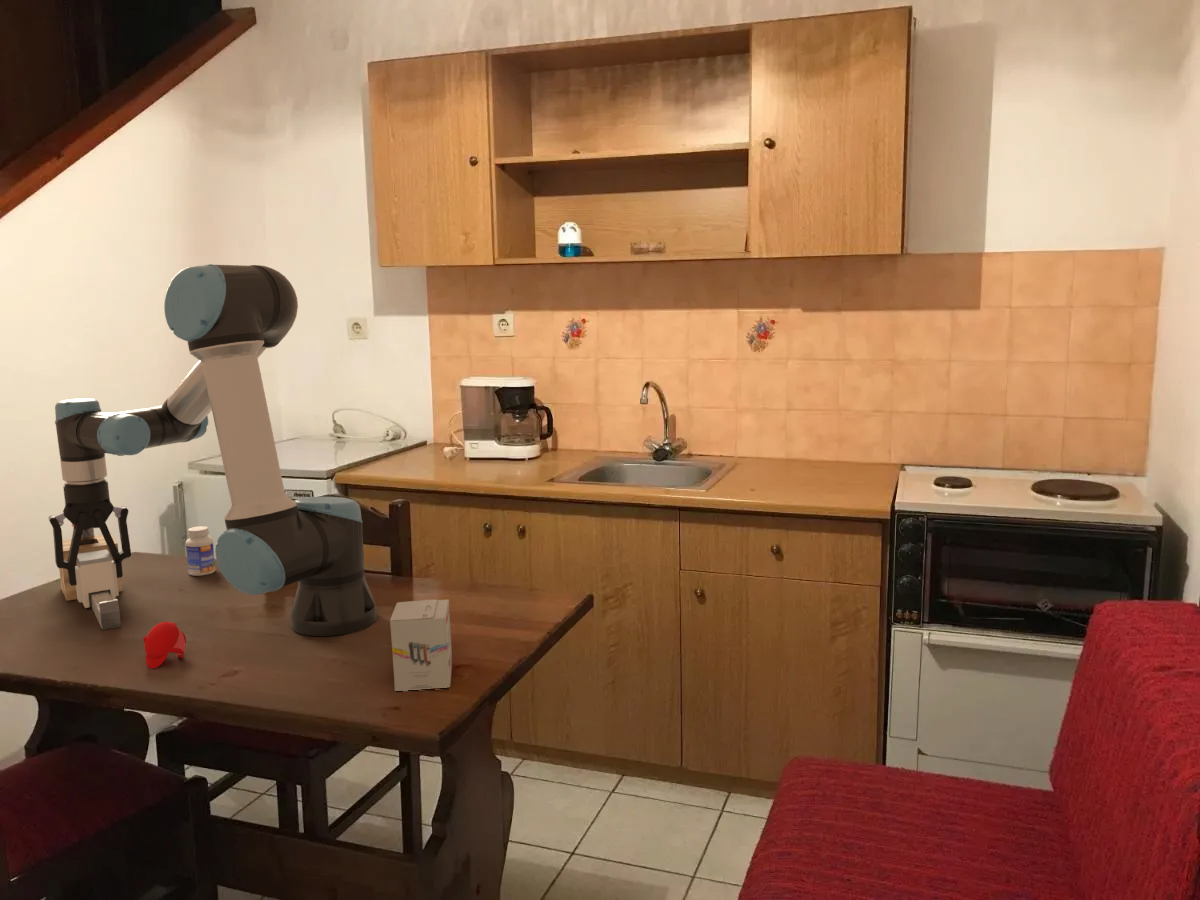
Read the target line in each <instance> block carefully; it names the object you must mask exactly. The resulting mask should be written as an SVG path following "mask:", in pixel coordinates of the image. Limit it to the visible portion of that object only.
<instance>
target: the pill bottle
mask: <svg viewBox="0 0 1200 900" xmlns="http://www.w3.org/2000/svg"><path fill="white" fill-rule="evenodd" d="M187 535H188V537H189V538H187V539H186V541H185V551H186V553H185V554H186V562H187V573H188V574H189V575H190V576H195V577H198V576H199V577H200V576H207V575H211V574H214V572H215V571H216V560H215V551H214V549H215V548H214V539H213V537H212V536H210V531H209V527H208V526H206V525H205V526H201V525H199V526H193V527H190V528H188V529H187Z"/></svg>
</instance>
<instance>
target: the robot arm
mask: <svg viewBox="0 0 1200 900" xmlns="http://www.w3.org/2000/svg"><path fill="white" fill-rule="evenodd" d="M298 302H299V301H298V297H297V294H296V290H295V288H294V287H293V285H292V283H291V282H290V281H289V280H288V278H287V277H286V276H285V275H284V274H283V273H281V272H280V271H279V270H276V269H274V268H272V267H269V266H266V265H260V264H258V265H257V264H251V265H244V264H243V265H239V264H238V265H237V264H236V265H233V264H232V265H231V264H212V263H211V264H210V263H209V264H203V265H193V266H187V267H185V268H182V269H181V270H179V272H177V273H176V274H175V275H174V276H173V278H172V279H171V280H170V283H169V286H167V289H166V292H165V295H164V304H163V305H164V307H163V309H164V317H165V320H166V324H167V326H168V328H169V330H170V331H173V334H174V335H175V337H177V338H178V339H181V340H182V341H185V342H187V347H188V350H189V351H188V352H189V354H190V355H192V356H193V357H194V358H196V359H197V360H198V361H197V362H196V364H194V366H193V367H192V368H191V369H190V371H188V373H187V374H186V376H184V378H183V379H182V381H181V382H179V384H178V385H177V386H176V387H175V389H174V390H173V391H172V393H171V394H170V395H169V396H168V398H166V400H164V402H163V403H162V404H161V405H158V406H153V407H152V406H151V407H145V408H139V409H132V410H131V409H130V410H123V411H116V412H105V411H102V408H101V406H100V402H99V401H98V400H97V399H96V398H92V397H91V398H88V397H87V398H86V397H85V398H81V397H79V398H71V399H70V398H69V399H63V400H60V401H57V402H56V404H55V407H54V410H55V413H54V414H55V420H54V421H55V422H54V424H55V430H56V436H57V443H58V445H57V446H58V452H59V456H60V457H59V458H60V467H61V469H60V470H61V476H62V477H61V478H62V481H64V484H63V485H62V487H63V495H64V504H65V505H64V509H63V510H62V512H61V513H58V514H55V515H50V516H48V521H49V523H50V525H51V527H52V531H53V534H52V535H53V544H54V547H53V548H54V559H55V564H56V567H57V568H58V569H59V568H65V569H67V570H68V579H69V583H70V585H71V586H73V585H76V591H77V599H76V600H77V601H78V603H82V602H83V593H82V584H81V575H80V569H79V567H78V566H76V561H77V556H78V551H79V546H80V542H81V537H82V534H83V530H86V529H89V528H94V529H99V530H100V532H101V535H103V537H104V539H105V541H106V544H107V546H108V548H109V550H110V552H111V555H112V557H113V560H112V566H113V576H114V585H115V594H116V597H118V596H120V595H119V594H120V593H119V592H118V583H117V578H120V577H121V578H122V577H123V575H124V574H123V573H124V572H123V560H126V559H127V558H130V557H132V550H131V544H130V535H129V528H128V522H127V519H128V515H129V509H128V508H127V506H124V505H122V506H118V505H117V506H116V505H113V503H112V501H111V500H110V498H111V497H110V490H109V482H108V480H107V479H106V477H107V476H108V472H107V471H108V470H107V462H106V461H107V460H106V454H108V455H112V456H113V455H114V456H119V457H123V456H136V455H138V454H140V453H141V452H143V451H144V450H145V449H151V448H155V447H160V446H166V445H172V444H179V443H188V442H190V441H192V440H196V439H199V438H201V437H203V436H204V435H205V434H206V432H207V431H208V429H207V427H208V426H209V417H208V415H209V414H210V413H211V412H212V416H213V422H214V426H215V431H216V437H217V441H218V447H219V451H220V456H221V460H222V461H221V462H222V465H223V471H224V475H225V481H226V485H227V489H228V493H229V494H228V495H229V499H230V503H231V505H230V509H229V510H228V511H227V513H226V514H225V516H224V517H223V518H224V523H225V527H226V529H225V530H224V531H223V533H221V534H220V536H219V537H218V538H217V541H216V542H217V544H216V545H215V548H214V549H215V551H214V554H215V558H216V560H215V561H216V563H217V566H218V568H219V571H220V572H221V574H222V576H223V577H224V579H225V580H226V581H227V582H228V583H229V585H232V587H233V588H235V590H237V591H239V592H241V593H242V594H246V595H251V596H259V595H264V594H265V593H269V592H277V591H279V590H281V589H282V588H284V587H286V586H288V585H292V584H294V583H298V584H297V588H296V592H295V597H294V600H293V603H292V607H291V611H290V625H291V628H292V630H293V631H294V632H297V633H299V634H302V635H305V636H314V637H329V636H331V637H332V636H339V635H341V636H342V635H345V634H346V635H347V634H350V633H354V632H358V631H361V630H364V629H366V628H368V627H370V626H371V625H373V624H374V623H375V622H376V621H377V620H378V619H377V618H378V616H377V615H378V614H377V613H378V612H377V611H378V610H377V604H376V602H375V599H374V597H373V594H372V592H371V590H370V587H369V585H368V582H367V580H366V576H365V557H364V537H363V535H364V534H363V533H364V532H363V531H364V529H363V524H364V523H363V522H364V521H363V520H362V514H361V513H362V512H361V506H360V504H359V503H358V502H357V501H356V500H354V499H351V498H347V497H337V496H305V497H298V498H295V499H294V500H293V499H291V498H290V497H289V496H287V495H286V493H285V487H284V483H283V477H282V472H281V468H280V463H279V458H278V454H277V448H276V443H275V442H276V441H275V438H274V433H273V428H272V424H271V423H272V422H271V418H270V413H269V409H268V408H269V407H268V404H267V403H268V402H267V399H266V393H265V389H264V383H263V378H262V373H261V369H260V364H259V357H261V355H262V354H263V353H264V351H266V350H267V349H272V348H275V347H277V346H278V345H279V344H280V342H281V341H282V340H283V339H284V338H285V337H286V336H287V335H288V333H289V332H290V330H292V329H291V328H293V326H294V323H295V321H296V319H297V315H298V308H299V304H298ZM112 513H114V516H115V518H117V522H118V530H119V531H118V532H119V537H120V538H119V539H120V545H121V551H119V549H118V550H117V548H116V545H115V543H114V541H113V539H112V536H113V535H112V533H111V532H110V530H109V528H108V525H107V524H106V522H107V520H109V517H110V516H111V514H112ZM65 519H67V521H69V522H70V523H71V525H72V524H73V525H74V527H72V528H73V530H72V535H71V539H72V540H71V545H70V550H69V555H68V560H67V561H65V560H64V556H63V542H62V540H63V531H62V526H63V525H64V522H65V521H64V520H65ZM111 535H112V536H111Z"/></svg>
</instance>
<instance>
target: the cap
mask: <svg viewBox="0 0 1200 900" xmlns="http://www.w3.org/2000/svg"><path fill="white" fill-rule="evenodd" d="M142 641H143V643H144V652H145V663H146V666H147V668H149V669H150V668H151V669H152V668H154V669H157V668H159V667H161V666H162V665H163V663H164V662H165V661H166V659H167V657H168V655H169V654H172V653H173V654H176V655H177V657H178V658H179V659H182V658H183V657H184V656H185V652H186V646H187V645H186V644H187V638H186V635H185V633H184V632H183V631H182V630H180V628H179V627H178V626H177V624H176V623H175V622H171V621H162V622H159V623H157V624H156V625H154V626H153V627H151V629H150V630H149V632H148V633H147V635H145V636H144V637H143V638H142ZM154 669H153V670H154Z"/></svg>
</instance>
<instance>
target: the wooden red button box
mask: <svg viewBox="0 0 1200 900" xmlns="http://www.w3.org/2000/svg"><path fill="white" fill-rule="evenodd" d="M111 536H112V539H113V541H114V543H115V545H116V548H117V550H118V551H119V543H118V542H117V540H116V539H115V538H114V535H112V534H111ZM94 537H95V544H88V545H81V546H79V551H78V554H80V553H86V552H93V551H100V550H106V549H107V550H108V552H109V553H110V555H111V552H110V550H109V548H108V546H107V544H106V541H105V539H104V537H103V535H102V534H97V535H94ZM71 540H72V538H70V539H64V540H63V539H62V542H63V556H64V560H65V561H67V560H68V555H69V550H70V545H71ZM111 556H112V555H111ZM112 560H113V557H112ZM76 566H77V561H76ZM58 569H59V570H58V571H59V578H60V580H59V581H60V588H61V591H62V593H63V596H64V598H65V600H66V601H73V600H78V599H77V591H76V585H73V586H71V585H70V583H69V579H68V570H67V569H65V568H58ZM117 583H118V592H123V583H122V577H120V578H117Z"/></svg>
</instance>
